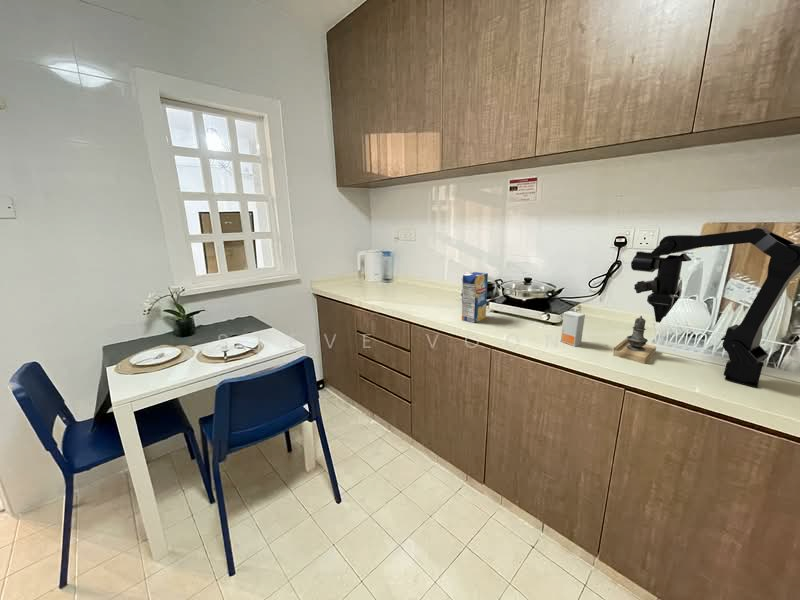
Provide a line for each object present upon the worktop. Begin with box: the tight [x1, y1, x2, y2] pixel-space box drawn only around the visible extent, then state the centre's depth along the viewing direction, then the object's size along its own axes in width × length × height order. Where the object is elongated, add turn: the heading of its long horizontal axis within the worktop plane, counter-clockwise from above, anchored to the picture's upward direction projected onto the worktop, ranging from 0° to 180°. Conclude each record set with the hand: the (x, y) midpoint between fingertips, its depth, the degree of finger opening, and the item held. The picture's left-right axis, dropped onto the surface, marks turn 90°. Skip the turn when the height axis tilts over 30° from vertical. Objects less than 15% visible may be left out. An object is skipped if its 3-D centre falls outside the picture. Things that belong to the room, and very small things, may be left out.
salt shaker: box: [626, 315, 648, 351], centre depth 109 cm, size 6×6×12 cm
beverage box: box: [461, 271, 489, 324], centre depth 150 cm, size 7×11×22 cm, turn 137°
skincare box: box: [559, 310, 586, 347], centre depth 120 cm, size 6×4×12 cm
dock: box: [612, 337, 657, 364], centre depth 111 cm, size 9×14×3 cm, turn 130°
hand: (660, 319), depth 107 cm, fingers open, 9 cm apart
